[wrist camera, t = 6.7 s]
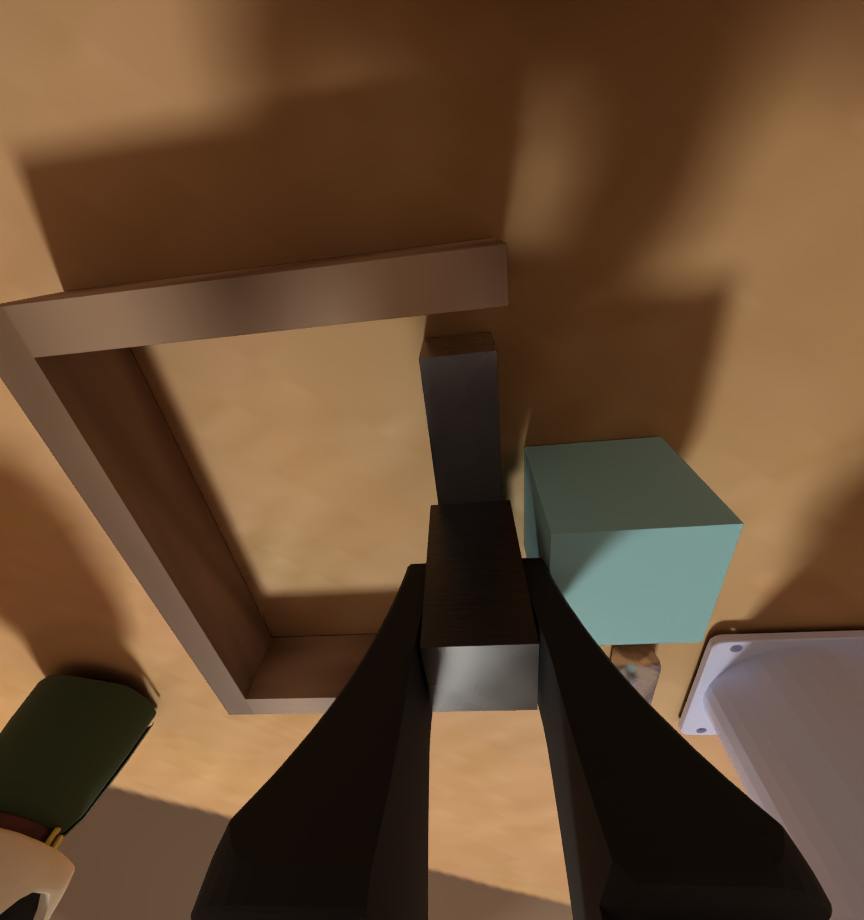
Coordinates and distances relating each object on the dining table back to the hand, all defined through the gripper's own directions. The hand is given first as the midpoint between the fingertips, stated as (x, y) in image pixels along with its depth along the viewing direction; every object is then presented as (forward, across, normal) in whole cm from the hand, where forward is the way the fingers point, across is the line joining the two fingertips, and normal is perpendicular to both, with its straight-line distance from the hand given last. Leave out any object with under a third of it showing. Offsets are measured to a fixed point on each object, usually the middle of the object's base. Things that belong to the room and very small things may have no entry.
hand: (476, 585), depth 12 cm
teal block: (+4, -4, 0) cm, 6 cm away
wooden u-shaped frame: (+4, +5, 0) cm, 6 cm away
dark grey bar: (+4, 0, 0) cm, 4 cm away
